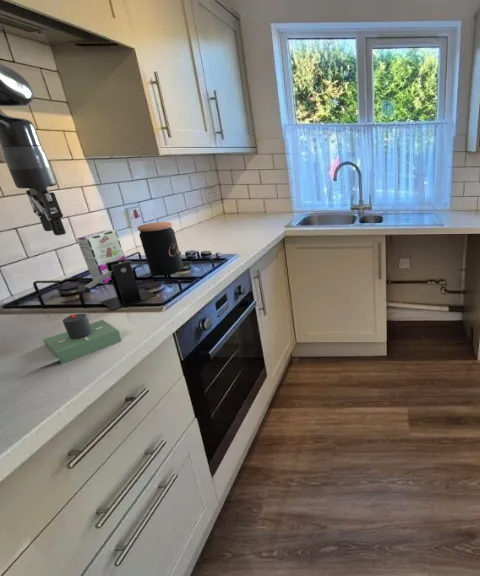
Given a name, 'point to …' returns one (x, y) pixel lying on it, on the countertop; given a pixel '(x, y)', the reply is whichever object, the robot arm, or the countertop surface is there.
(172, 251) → the coffee jar
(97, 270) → the candy bar box
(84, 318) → the knob
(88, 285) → the press lever
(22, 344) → the countertop surface
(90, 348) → the panel
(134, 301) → the bracket
